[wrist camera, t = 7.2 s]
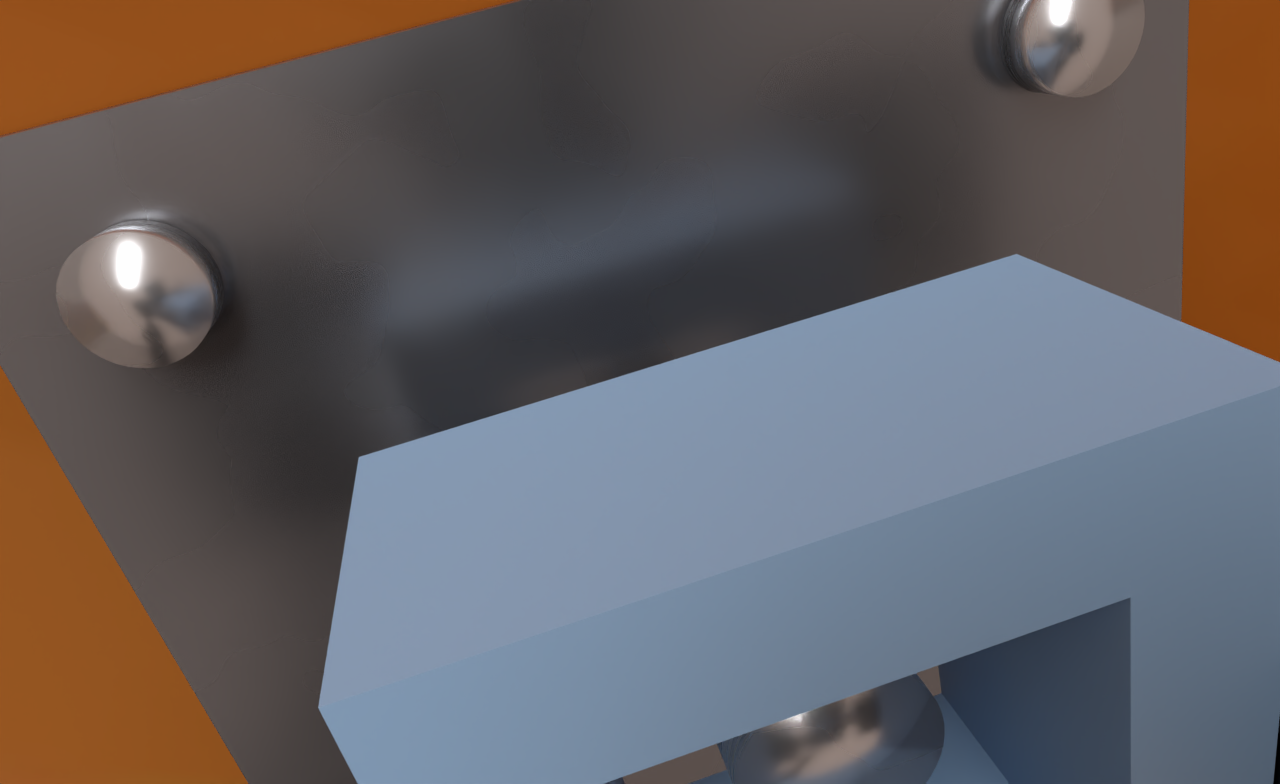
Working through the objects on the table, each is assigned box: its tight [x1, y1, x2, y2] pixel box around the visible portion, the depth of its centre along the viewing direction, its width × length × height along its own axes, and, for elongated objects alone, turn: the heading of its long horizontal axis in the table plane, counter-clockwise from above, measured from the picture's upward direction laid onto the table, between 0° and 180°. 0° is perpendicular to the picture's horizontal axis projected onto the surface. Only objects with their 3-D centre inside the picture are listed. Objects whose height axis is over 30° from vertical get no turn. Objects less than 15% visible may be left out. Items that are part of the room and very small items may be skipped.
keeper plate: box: [0, 0, 1189, 784], centre depth 10 cm, size 12×12×5 cm
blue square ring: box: [318, 254, 1280, 784], centre depth 8 cm, size 6×6×3 cm
